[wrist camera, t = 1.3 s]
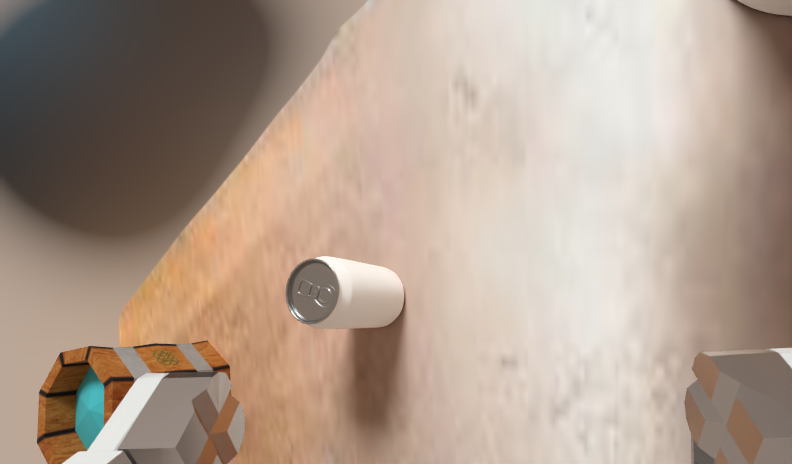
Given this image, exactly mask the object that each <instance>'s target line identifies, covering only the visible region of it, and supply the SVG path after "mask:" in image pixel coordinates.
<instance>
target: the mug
mask: <svg viewBox="0 0 792 464" xmlns="http://www.w3.org/2000/svg"><path fill="white" fill-rule="evenodd" d="M170 372H223V373H226V374H227V376H228V378H229V380H230V366H229V365H228V364H227V363H226V361H225V360H224V359H223V358H222V357H221V356H220V354H219V353H218V352H217V351H216V350H215V349H214V348H213V346H212V345H211V344H210V343H209V342H208V341H203V342H197V343H192V344H149V345H142V346H135V347H120V348H107V347H95V346H94V347H93V346H89V347H84V348H80V349H75V350H71V351H66V352H62V353H60V355H59V356H58V358H57V360H56V362H55V364H54V366H53V368H52V370H51V371H50V373H49V375H48V377H47V379H46V380H45V382H44V384H43V386H42V388H41V390H40V392H39V412H38V414H39V415H38V435H37V437H38V438H37V444H38V445H39V447H40V449H41V451H42V453H43V455H44V457H45V459H46V461H47V463H48V464H62V463H63V462H65V461H66V460H68V459H69V458H70V457H72V456H73V455H75V454H76V453H77V452H79V451H87V450H88V449H89V447H90V446H91V444H92V443H93V442H94V440H95V439H96V437H97V436H98V434H99V433H100V432H101V430H102V429H103V427H104V426H105V424H106V423H107V422H108V420H109V419H110V417H111V416H112V414H113V413H114V411H115V410H116V409H117V407H118V406H119V404H120V403H121V401H122V400H123V399H124V397H125V396H126V394H127V393H128V391H129V390H130V388H131V387H132V386H133V384H134V383H135V381H136V380H137V379H138V378H139V377H141V376H143V375H144V374H146V373H170ZM229 395H231V389H230V392H229Z"/></svg>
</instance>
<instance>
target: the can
mask: <svg viewBox="0 0 792 464" xmlns="http://www.w3.org/2000/svg"><path fill="white" fill-rule="evenodd" d="M286 301H287V305H288V308H289V310H290V312H291V313H292V315H293V316H294V317H295V318H296V319H297V320H298V321H300V322H302V323H305V324H308V325H309V326H311V327H314V328H318V329H351V328H378V327H384V326H387V325H389V324H390V323H392V322H393V321H394V320H395V319H396V318H397V317H398V316H399V314H400V313H401V310H402V308H403V304H404V289H403V285H402V283H401V281H400V279H399V277H398V276H397V275H396V274H395V273H394V272H393V271H391V270H389V269H387V268H384V267H380V266H375V265H371V264H366V263H361V262H356V261H351V260H346V259H341V258H335V257H328V256H322V257H317V258H314V259H308V260H305V261H303V262H302V263H300V264H299V265H298V266H297V267H296V268H295V269H294V270H293V271H292V273H291V275H290V277H289V279H288V282H287V286H286Z"/></svg>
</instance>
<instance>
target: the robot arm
mask: <svg viewBox="0 0 792 464" xmlns="http://www.w3.org/2000/svg"><path fill="white" fill-rule="evenodd" d="M738 1H739V2H741V3H743V4H745V5H747V6H749V7H751V8H754V9H757V10H760V11H763V12H767V13H772V14H778V15H788V16H792V0H738ZM692 370H693V372H694V373H695V375H696V377H697V378H698V380H697V381H696V382H694V383H693V384H692V385H691V386H689V387H688V388H687V393H686V398H685V410H686V419H687V422H688V425H689V428H690V431H691V434H692V436H693V438H694V440H695V442H696V444H697V446H698V447H699V448H700V449H702V450H703V451H704V452H706V453H707V454H708V455H710V456H711V457H712V458H714V459H715V462H714V464H792V348H775V349H768V350H767V349H751V350H731V351H711V352H700V353H699V354H698V355H697V356H696V357H695V360H694V364H693V367H692ZM231 387H232V384H231V382H230V380H229V378H228V376H227V374H226V373H223V372H170V373H146V374H144V375H143V376H141V377H139V378H138V379H137V380H136V381H135V383H134V384H133V386H132V387H131V388H130V390H129V391H128V393H127V394H126V396H125V397H124V399H123V400H122V401H121V403H120V404H119V406H118V407H117V409H116V410H115V411H114V413H113V414H112V416H111V417H110V419H109V420H108V422H107V423H106V424H105V426H104V427H103V429H102V430H101V432H100V433H99V434H98V436H97V437H96V439H95V440H94V442H93V443H92V444H91V446H90V447H89V449H88V450H87V451H79V452H77V453H76V454H75V455H73V456H72V457H70V458H69V459H68V460H66V461H65V462H63V463H62V464H227V463H228V462H229V461H230V460H231V459H233V458H234V457H235V456H236V455H237V454H238V452H239V449H240V446H241V443H242V441H243V436H244V428H245V418H244V411H243V409H242V406H241V404H240V402H239V401H238V400H236V399H235V398H234V397H232V396H231V395H229V392H230V389H231Z"/></svg>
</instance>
